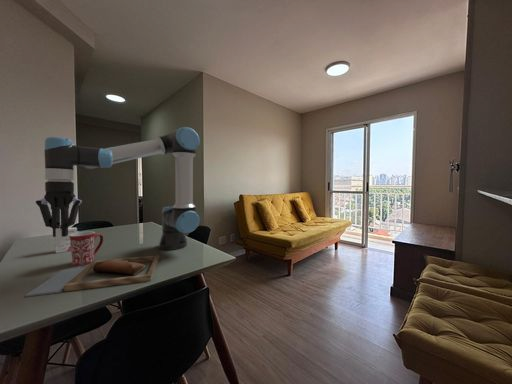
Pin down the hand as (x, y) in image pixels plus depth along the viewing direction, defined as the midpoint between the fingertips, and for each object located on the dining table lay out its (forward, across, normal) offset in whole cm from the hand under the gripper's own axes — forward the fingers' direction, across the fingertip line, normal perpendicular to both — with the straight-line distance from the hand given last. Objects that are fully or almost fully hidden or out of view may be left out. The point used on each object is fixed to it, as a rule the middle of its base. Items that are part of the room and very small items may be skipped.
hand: (60, 245), depth 75 cm
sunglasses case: (+14, -19, -5) cm, 24 cm away
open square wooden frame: (+13, -18, -2) cm, 23 cm away
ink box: (+14, +18, -42) cm, 48 cm away
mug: (+13, 0, -20) cm, 24 cm away
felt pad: (+13, 0, 0) cm, 13 cm away
